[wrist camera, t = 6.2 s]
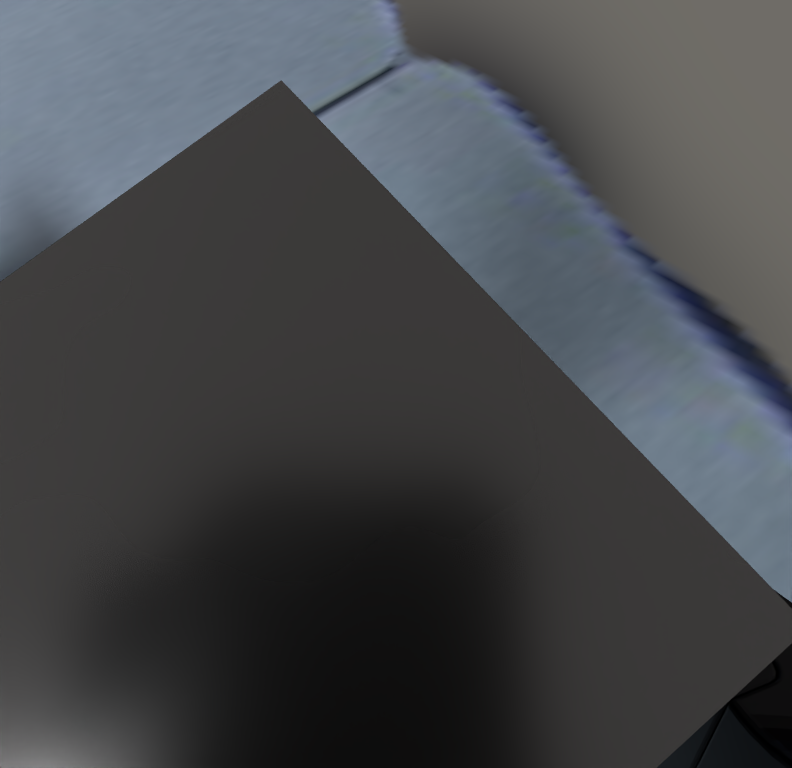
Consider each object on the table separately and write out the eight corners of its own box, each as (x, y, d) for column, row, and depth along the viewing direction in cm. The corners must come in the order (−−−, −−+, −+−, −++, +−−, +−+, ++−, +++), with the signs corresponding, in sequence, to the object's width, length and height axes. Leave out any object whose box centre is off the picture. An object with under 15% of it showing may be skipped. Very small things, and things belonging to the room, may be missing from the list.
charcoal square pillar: (506, 530, 15) (807, 628, 2) (393, 625, 14) (-1, 1375, 2) (415, 421, 16) (281, 79, 3) (309, 506, 16) (-270, 476, 3)
